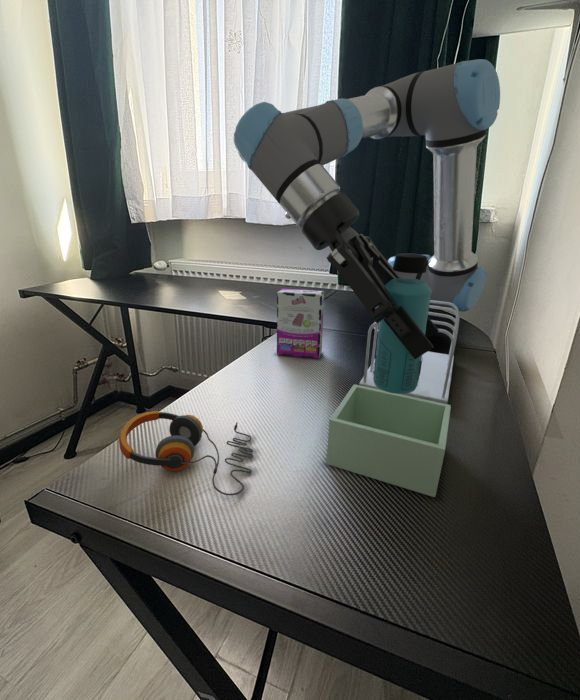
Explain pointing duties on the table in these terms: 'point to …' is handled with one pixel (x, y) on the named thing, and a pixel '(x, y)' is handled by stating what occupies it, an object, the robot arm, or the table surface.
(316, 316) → the candy bar box
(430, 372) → the file sorter
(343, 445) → the basket
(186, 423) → the headphones
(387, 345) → the beverage bottle
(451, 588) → the table surface
